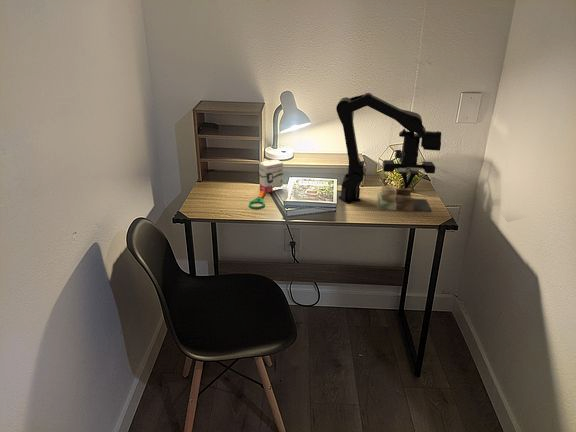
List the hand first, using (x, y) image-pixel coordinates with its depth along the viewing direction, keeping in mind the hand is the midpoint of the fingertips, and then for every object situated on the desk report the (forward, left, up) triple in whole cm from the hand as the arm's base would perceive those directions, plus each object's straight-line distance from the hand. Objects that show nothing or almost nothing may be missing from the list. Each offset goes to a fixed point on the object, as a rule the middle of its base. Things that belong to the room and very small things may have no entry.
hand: (405, 188), depth 187 cm
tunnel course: (-1, 0, -7) cm, 7 cm away
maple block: (-5, +3, -4) cm, 8 cm away
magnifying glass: (-50, +26, -8) cm, 57 cm away
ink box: (-41, +35, -7) cm, 54 cm away
